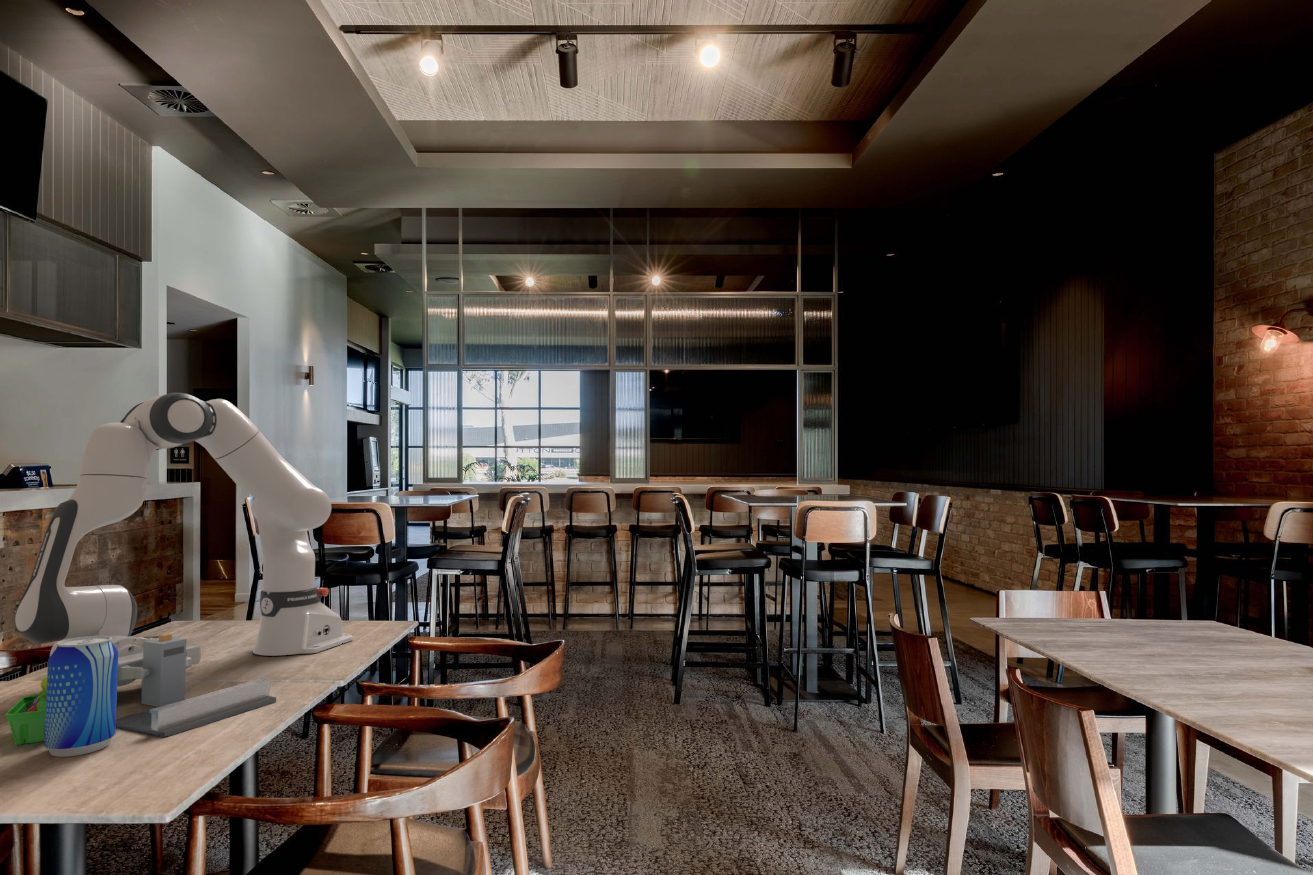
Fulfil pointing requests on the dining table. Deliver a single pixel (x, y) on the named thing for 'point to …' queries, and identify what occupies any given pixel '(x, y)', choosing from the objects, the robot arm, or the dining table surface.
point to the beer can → (81, 696)
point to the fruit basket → (29, 717)
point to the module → (164, 670)
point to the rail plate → (147, 716)
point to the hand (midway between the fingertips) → (167, 668)
